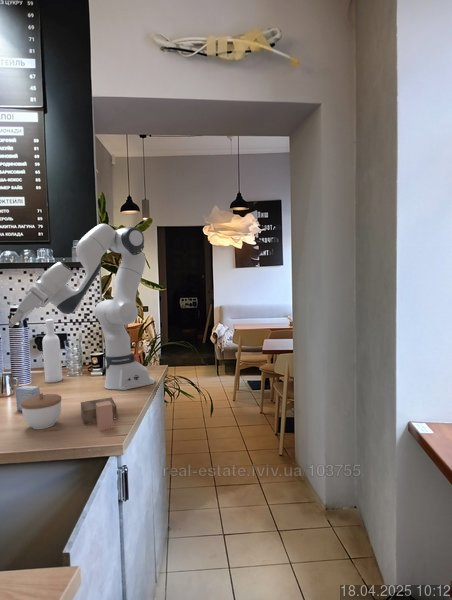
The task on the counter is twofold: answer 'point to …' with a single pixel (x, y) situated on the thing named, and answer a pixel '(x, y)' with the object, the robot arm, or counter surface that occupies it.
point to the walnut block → (94, 410)
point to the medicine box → (25, 394)
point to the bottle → (51, 354)
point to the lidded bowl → (41, 410)
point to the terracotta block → (104, 415)
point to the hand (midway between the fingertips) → (10, 324)
